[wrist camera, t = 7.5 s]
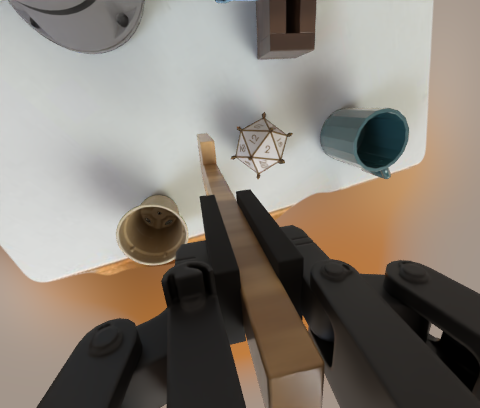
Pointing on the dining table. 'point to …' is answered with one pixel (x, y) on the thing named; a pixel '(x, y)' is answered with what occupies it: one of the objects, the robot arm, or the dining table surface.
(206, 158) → the spatula
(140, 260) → the flower pot
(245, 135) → the twenty-sided die
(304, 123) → the dining table surface
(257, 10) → the spatula holder
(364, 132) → the mug
